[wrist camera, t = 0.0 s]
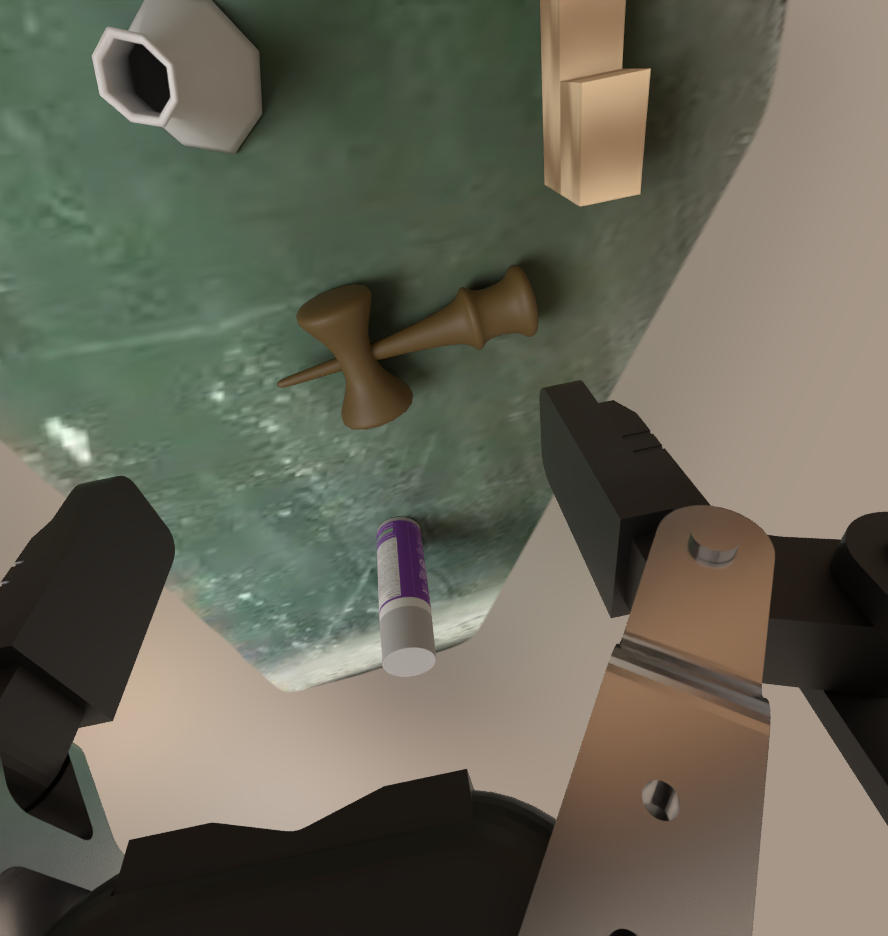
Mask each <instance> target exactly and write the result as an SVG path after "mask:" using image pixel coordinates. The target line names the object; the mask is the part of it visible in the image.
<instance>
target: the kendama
mask: <svg viewBox="0 0 888 936" xmlns="http://www.w3.org/2000/svg"><path fill="white" fill-rule="evenodd" d="M371 301H372V295H371V292H370V290H369V289H368V288H367V286H364V285H358V284H352V285H345V286H342V287H338V288H335V289H331V290H329V291H327V292H324V293H322V294H320V295H318V296H316V297H314V298H312V299H310V300H309V301H308V302H306V303H305V304H304V305H303V306H302V307H301V308H300V310H299V311H298V313H297V315H296V317H297V321H298V324H299V325H300V327H301V328H302V329H304V330H305V331H306V332H308V333H309V334H310V335H312V336H313V337H315V338H316V339H317V340H319V341H320V342H322V343H323V344H324V345H325V346H326V347H328V349H329V350H330V351H331V352H332V353H333V354H334V356H335V357H336V358H334V359H332V360H329V361H326V362H324V363H321V364H319V365H316V366H313V367H311V368H308V369H306V370H303V371H301V372H298V373H295V374H293V375H291V376H288V377H286V378H284V379H282V380H280V381H279V382H278V383H277V386H278V387H281V388H282V387H288V386H292V385H296V384H299V383H303V382H306V381H309V380H313V379H316V378H319V377H323V376H326V375H329V374H332V373H336V372H339V371H343V373H344V375H345V379H346V391H345V397H344V402H343V406H342V415H341V416H342V419H343V422H344V424H345V425H346V426H348V427H349V428H351V429H370V428H374V427H378V426H382V425H384V424H386V423H388V422H391V421H393V420H395V419H396V418H397V417H399V416H400V415H402V414H403V413H404V412H406V411H407V409H408V408H409V406H410V405H411V403H412V398H413V393H412V391H411V389H410V388H409V386H408V385H407V384H406V383H405V382H403V381H402V380H400V379H399V378H397V377H395V376H394V375H392V374H391V373H389V372H388V371H386V370H385V369H384V368H383V367H382V366H381V365H380V364H379V363H378V361H377V360H381V359H385V358H389V357H393V356H397V355H401V354H405V353H410V352H415V351H419V350H425V349H430V348H435V347H441V346H447V345H456V344H467V345H471V346H473V347H474V348H476V349H477V350H481V349H482V348H483V347H484V345H485V344H486V342H487V341H488V340H490V339H491V338H494V337H496V336H500V335H503V334H508V333H520V334H523V335H525V336H527V337H531V336H533V335H535V334H536V332H537V330H538V307H537V303H536V299H535V295H534V292H533V289H532V286H531V284H530V281H529V279H528V277H527V275H526V274H525V272H524V271H523V269H522V268H521V267H519V266H517V265H511V266H510V267H509V268H508V270H507V272H506V274H505V276H504V277H503V279H502V280H501V281H499V282H497V283H496V284H494V285H492V286H489V287H487V288H484V289H480V290H469V289H467V288H464V287H462V288H460V289H459V291H458V294H457V296H456V298H455V299H454V300H453V301H452V302H451V303H450V304H448V305H447V306H446V307H444V308H442V309H441V310H439V311H437V312H436V313H434V314H432V315H430V316H428V317H426V318H425V319H423V320H421V321H419V322H417V323H415V324H413V325H411V326H409V327H407V328H405V329H403V330H401V331H399V332H396V333H394V334H392V335H390V336H388V337H385V338H383V339H381V340H379V341H376V342H374V343H372V344H371V343H370V339H369V333H368V326H369V316H370V309H371Z"/></svg>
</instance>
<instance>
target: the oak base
mask: <svg viewBox="0 0 888 936" xmlns="http://www.w3.org/2000/svg"><path fill="white" fill-rule="evenodd" d="M625 5H626V0H540V18H541V58H542V97H543V136H544V175H545V185H546V186H548V187H550V188H551V189H553V190H554V191H556V192H558V193H559V194H561V195H562V196H564V197H566V198H567V199H569V200H570V201H572V202H574V203H575V204H577V205H578V206H585V205H590V204H595V203H599V202H604V201H609V200H614V199H619V198H623V197H628V196H633V195H638V194H640V189H641V177H642V165H643V153H644V142H645V130H646V118H647V106H648V94H649V82H650V70H651V69H622V59H623V41H624V23H625Z"/></svg>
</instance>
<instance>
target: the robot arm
mask: <svg viewBox="0 0 888 936" xmlns="http://www.w3.org/2000/svg"><path fill="white" fill-rule="evenodd" d="M540 422H541V445H542V458H543V464H544V469H545V473H546V476H547V479H548V482H549V484H550V486H551V488H552V491H553V493H554V495H555V497H556V499H557V501H558V503H559V506H560V508H561V510H562V512H563V515H564V517H565V519H566V521H567V523H568V526H569V528H570V530H571V532H572V534H573V536H574V539H575V540H576V543H577V545H578V547H579V550H580V552H581V554H582V556H583V558H584V560H585V562H586V565H587V567H588V569H589V571H590V573H591V576H592V578H593V580H594V582H595V585H596V586H597V589H598V591H599V593H600V595H601V597H602V600H603V602H604V604H605V606H606V608H607V611H608V613H609V615H610V617H611V618H614V617H619V616H623V615H628V614H630V616H629V618H628V622H627V625H626V628H625V631H624V634H623V637H622V640H621V642H620V644H616V646H615V648H614V650H613V652H612V654H611V657H610V660H609V662H608V666H607V668H606V671H605V674H604V677H603V680H602V683H601V686H600V689H599V693H598V695H597V698H596V702H595V704H594V708H593V711H592V714H591V717H590V720H589V723H588V726H587V729H586V732H585V735H584V738H583V741H582V744H581V747H580V750H579V753H578V756H577V759H576V762H575V765H574V768H573V771H572V774H571V778H570V780H569V784H568V787H567V789H566V792H565V795H564V799H563V802H562V805H561V808H560V811H559V814H558V817H557V820H556V819H555V818H553V817H551V816H550V815H548V814H546V813H545V812H543V811H541V810H540V809H538V808H536V807H534V806H532V805H530V804H527V803H525V802H523V801H520V800H518V799H516V798H513V797H509V796H505V795H501V794H497V793H494V792H486V791H477V790H474V788H473V785H472V782H471V779H470V776H469V773H468V771H467V769H464V770H459V771H455V772H450V773H445V774H440V775H435V776H431V777H426V778H421V779H417V780H412V781H407V782H402V783H398V784H393V785H388V786H384V787H382V788H380V789H378V790H376V791H374V792H372V793H370V794H368V795H366V796H365V797H363V798H361V799H359V800H357V801H355V802H353V803H351V804H349V805H347V806H345V807H344V808H342V809H340V810H338V811H336V812H334V813H332V814H330V815H328V816H326V817H324V818H322V819H321V820H319V821H317V822H315V823H313V824H311V825H309V826H307V827H305V828H303V829H300V830H297V831H279V830H271V829H263V828H254V827H245V826H236V825H229V824H220V823H208V824H203V825H199V826H194V827H189V828H184V829H179V830H175V831H170V832H165V833H161V834H156V835H151V836H146V837H142V838H137V839H132V840H129V843H128V846H127V849H126V853H125V855H124V854H123V853H122V851H121V850H120V849H119V847H118V846H117V844H116V842H115V840H114V838H113V835H112V832H111V830H110V827H109V824H108V821H107V818H106V815H105V812H104V809H103V807H102V804H101V801H100V798H99V795H98V792H97V789H96V786H95V783H94V780H93V778H92V775H91V772H90V769H89V766H88V764H87V760H86V758H85V755H84V752H83V751H82V749H81V748H80V747H79V746H78V745H76V744H74V743H73V740H74V737H75V735H76V732H77V730H78V728H81V727H86V726H91V725H96V724H100V723H105V722H110V721H113V719H114V716H115V714H116V711H117V708H118V706H119V703H120V701H121V698H122V695H123V692H124V690H125V687H126V685H127V682H128V679H129V677H130V674H131V671H132V669H133V666H134V664H135V661H136V658H137V655H138V653H139V650H140V648H141V645H142V642H143V640H144V637H145V634H146V632H147V629H148V626H149V624H150V621H151V619H152V616H153V613H154V611H155V608H156V605H157V603H158V600H159V598H160V595H161V592H162V590H163V587H164V584H165V582H166V579H167V576H168V574H169V571H170V568H171V566H172V563H173V560H174V556H175V545H174V540H173V537H172V534H171V532H170V530H169V529H168V527H167V526H166V525H165V523H164V522H163V521H162V519H161V518H160V517H159V515H158V514H157V513H156V511H155V510H154V509H153V507H152V506H151V505H150V503H149V502H148V501H147V499H146V498H145V497H144V495H143V494H142V493H141V492H140V490H139V489H138V488H137V486H136V485H135V484H134V483H133V481H131V480H130V479H129V478H127V477H125V476H116V477H111V478H107V479H102V480H97V481H92V482H88V483H83V484H79V485H77V486H76V487H75V488H74V489H73V490H72V491H71V493H70V494H69V496H68V497H67V499H66V500H65V501H64V503H63V504H62V506H61V507H60V509H59V510H58V512H57V513H56V515H55V516H54V518H53V519H52V520H51V521H50V522H49V523H48V524H47V525H46V526H45V527H44V528H43V529H41V530H40V531H39V532H38V533H37V534H36V535H35V536H34V537H33V538H31V540H30V541H29V543H28V544H27V546H26V547H25V548H24V550H23V551H22V553H21V554H20V555H19V557H18V558H17V560H16V561H15V564H16V566H15V567H11V568H10V570H9V571H8V573H7V574H6V576H5V577H4V578H3V580H2V581H1V583H2V586H1V587H0V936H752V931H753V920H754V907H755V896H756V886H757V874H758V863H759V862H758V861H759V851H760V839H761V829H762V828H761V827H762V817H763V806H764V795H765V782H766V771H767V760H768V749H769V738H770V718H771V717H770V705H769V701H768V700H767V699H766V698H763V696H762V683H766V684H774V685H783V686H792V687H799V688H800V689H801V691H802V693H803V694H804V696H805V697H806V699H807V700H808V702H809V704H810V705H811V707H812V708H813V710H814V711H815V713H816V714H817V716H818V718H819V719H820V721H821V722H822V724H823V725H824V727H825V729H826V730H827V732H828V733H829V735H830V736H831V738H832V739H833V741H834V743H835V744H836V746H837V747H838V749H839V750H840V752H841V753H842V755H843V757H844V758H845V760H846V761H847V763H848V764H849V766H850V768H851V769H852V771H853V772H854V773H855V775H856V777H857V779H858V780H859V782H860V783H861V785H862V786H863V788H864V789H865V791H866V792H867V794H868V796H869V797H870V799H871V800H872V802H873V803H874V805H875V806H876V808H877V809H878V811H879V813H880V814H881V816H882V818H883V819H884V821H885V822H886V824H887V825H888V512H877V513H871V514H866V515H864V516H861V517H859V518H857V519H856V520H854V521H853V522H852V523H851V524H850V525H849V526H848V528H847V530H846V532H845V534H844V535H843V537H842V540H837V539H816V538H796V537H780V536H772V535H767V534H766V533H765V532H764V530H763V529H762V528H761V527H759V526H758V525H757V524H756V523H755V522H753V521H751V520H750V519H749V518H747V517H745V516H743V515H741V514H739V513H737V512H734V511H732V510H728V509H725V508H721V507H715V506H711V505H710V504H709V503H708V502H707V500H706V499H705V498H704V497H703V495H702V494H701V493H700V492H699V490H698V489H697V488H696V487H695V486H694V484H693V483H692V482H691V480H690V479H689V478H688V477H687V476H686V474H685V473H684V472H683V470H682V469H681V468H680V467H679V466H678V464H677V463H676V462H675V461H674V459H673V458H672V457H671V456H670V454H669V453H668V452H667V451H666V449H662V445H661V443H660V442H659V441H658V439H657V438H656V437H655V436H654V434H651V433H650V430H649V428H648V427H647V426H646V424H645V423H644V422H643V421H642V419H641V418H640V417H639V416H638V415H637V413H635V412H634V411H632V410H630V409H628V408H627V407H625V406H623V405H621V404H619V403H617V402H616V401H614V400H612V401H607V402H602V403H598V402H597V401H596V399H595V398H594V397H593V395H592V394H591V392H590V391H589V390H588V388H587V387H586V385H585V384H584V383H583V382H582V381H580V380H579V381H574V382H569V383H564V384H559V385H555V386H550V387H545V388H542V389H541V390H540Z"/></svg>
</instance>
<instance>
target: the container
mask: <svg viewBox="0 0 888 936" xmlns="http://www.w3.org/2000/svg"><path fill="white" fill-rule="evenodd" d="M377 561H378V590H379V616H380V631H381V646H382V661H383V668H384V669H385V671H387V672H388V673H389V674H392V675H395V676H401V677H408V676H415V675H419V674H422V673H424V672H426V671H428V670H429V669H431V668H432V667H433V666H434V664H435V662H436V654H435V644H434V635H433V625H432V615H431V605H430V598H429V590H428V583H427V575H426V568H425V560H424V553H423V545H422V538H421V531H420V527H419V525H418V524H417V523H416V522H415V521H414V520H412V519H410V518H406V517H394V518H390V519H388V520H386V521H384V522H383V523H382V524H381V525H380V526H379V527H378V529H377Z"/></svg>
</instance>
